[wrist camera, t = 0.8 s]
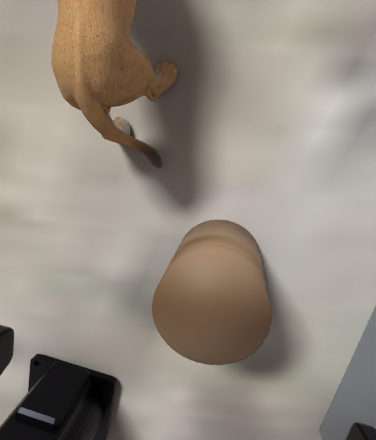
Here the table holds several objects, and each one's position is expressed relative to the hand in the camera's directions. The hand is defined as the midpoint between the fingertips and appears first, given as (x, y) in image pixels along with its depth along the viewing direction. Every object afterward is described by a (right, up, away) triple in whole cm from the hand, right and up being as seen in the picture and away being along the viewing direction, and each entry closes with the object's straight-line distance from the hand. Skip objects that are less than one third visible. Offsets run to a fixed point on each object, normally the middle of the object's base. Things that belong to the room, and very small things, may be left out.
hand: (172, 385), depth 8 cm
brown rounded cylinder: (+2, +2, +11) cm, 11 cm away
